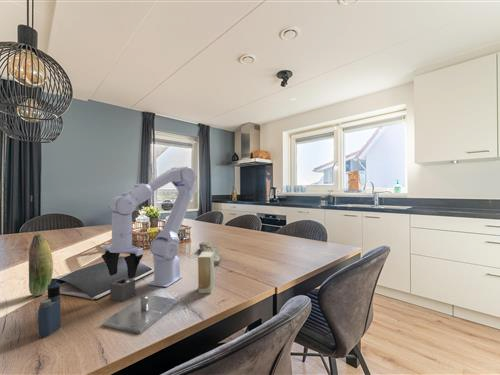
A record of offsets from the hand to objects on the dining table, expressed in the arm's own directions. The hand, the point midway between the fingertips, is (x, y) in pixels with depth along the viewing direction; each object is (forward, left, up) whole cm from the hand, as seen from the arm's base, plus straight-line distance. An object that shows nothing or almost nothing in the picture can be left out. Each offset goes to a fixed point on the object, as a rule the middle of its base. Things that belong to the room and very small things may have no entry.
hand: (122, 275), depth 78 cm
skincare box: (-13, +23, -7) cm, 27 cm away
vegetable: (+7, -27, -7) cm, 29 cm away
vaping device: (+20, -2, -7) cm, 21 cm away
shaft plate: (+6, +14, -7) cm, 17 cm away
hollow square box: (0, 0, -7) cm, 7 cm away
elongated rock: (-50, +5, -7) cm, 51 cm away
